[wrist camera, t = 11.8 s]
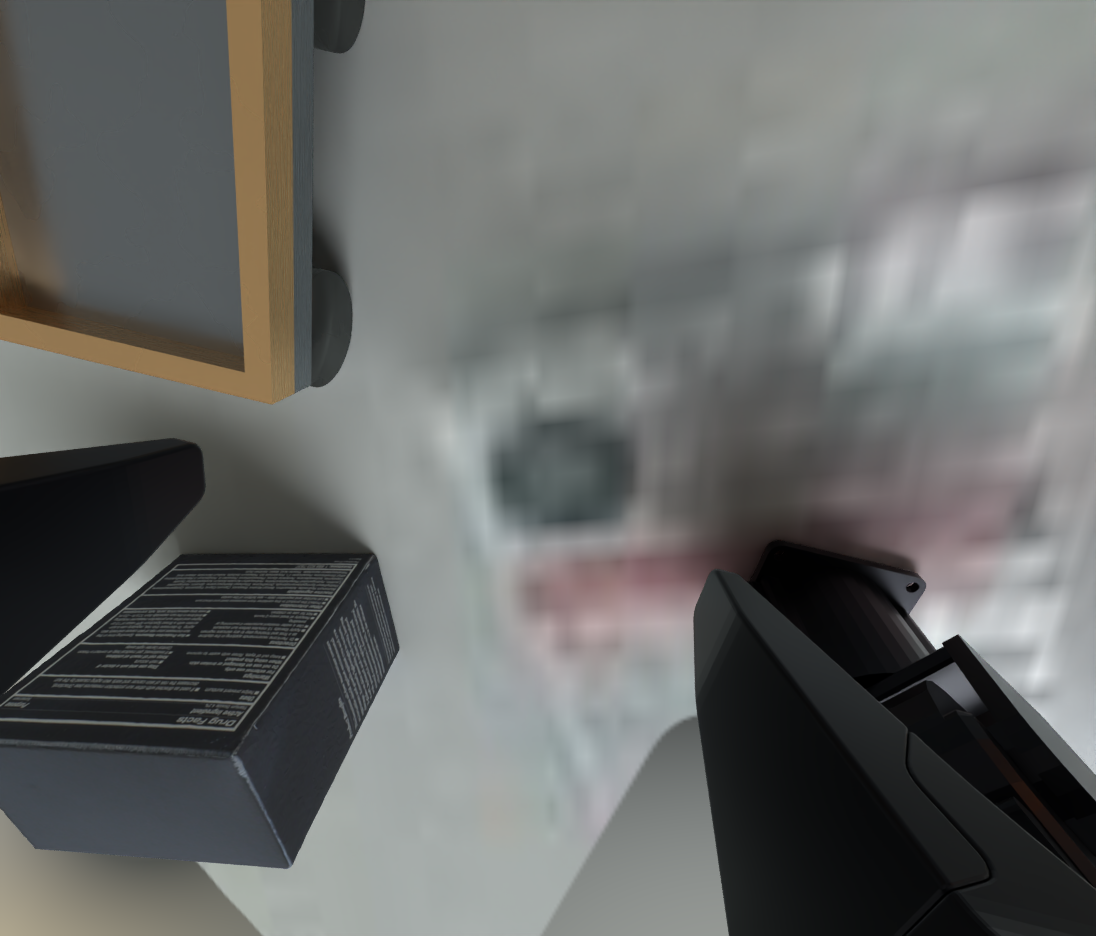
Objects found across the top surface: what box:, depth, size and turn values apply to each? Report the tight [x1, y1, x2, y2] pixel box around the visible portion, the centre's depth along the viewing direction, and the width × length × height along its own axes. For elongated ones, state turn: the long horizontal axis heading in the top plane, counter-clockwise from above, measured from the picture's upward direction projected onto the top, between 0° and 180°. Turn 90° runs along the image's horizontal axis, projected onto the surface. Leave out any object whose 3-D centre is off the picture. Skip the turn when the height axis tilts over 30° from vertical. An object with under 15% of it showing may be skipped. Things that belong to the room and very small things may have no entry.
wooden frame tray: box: [0, 0, 365, 404], centre depth 15 cm, size 10×14×6 cm
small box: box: [0, 554, 399, 869], centre depth 22 cm, size 11×6×10 cm, turn 95°
